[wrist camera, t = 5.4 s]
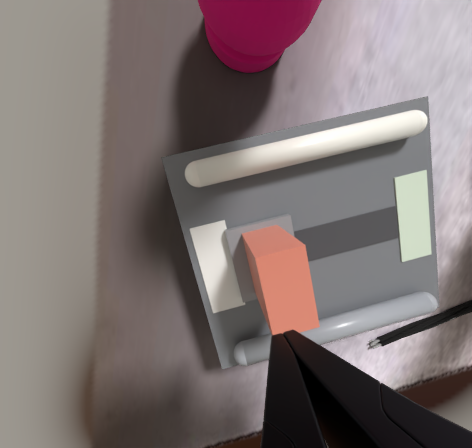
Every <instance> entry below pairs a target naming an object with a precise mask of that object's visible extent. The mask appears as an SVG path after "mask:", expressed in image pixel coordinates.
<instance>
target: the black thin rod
mask: <svg viewBox="0 0 472 448" xmlns="http://www.w3.org/2000/svg"><path fill="white" fill-rule="evenodd" d="M470 312H472V300H471V301H469V302H466V303H464V304H462V305H459V306H457V307H455V308H452V309H450V310H448V311H446V312H444V313H441V314H437V315H434V316H431V317H428V318H425V319H422V320H419V321H416V322H413V323H410V324H408V325H406V326H403V327H401V328H399V329H396V330H394V331H392V332H390V333H388V334H385V335H383V336H380V337H377V338H376V339H374V340H370V341H369V342H372V343H371V344H370V346H373V349H374V348H377V347H379V346H384V345H387V344H389V343H392V342H394V341H396V340H399V339H401V338H404V337H407V336H410V335H413V334H416V333H418V332H421V331H424V330H427V329H430V328H433V327H435V326H438V325H440V324H442V323H445V322H447V321H450V320H452V319H454V318H457V317H459V316H461V315H464V314H467V313H470ZM375 340H376V341H375ZM373 341H374V342H373ZM374 345H375V346H374Z"/></svg>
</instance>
